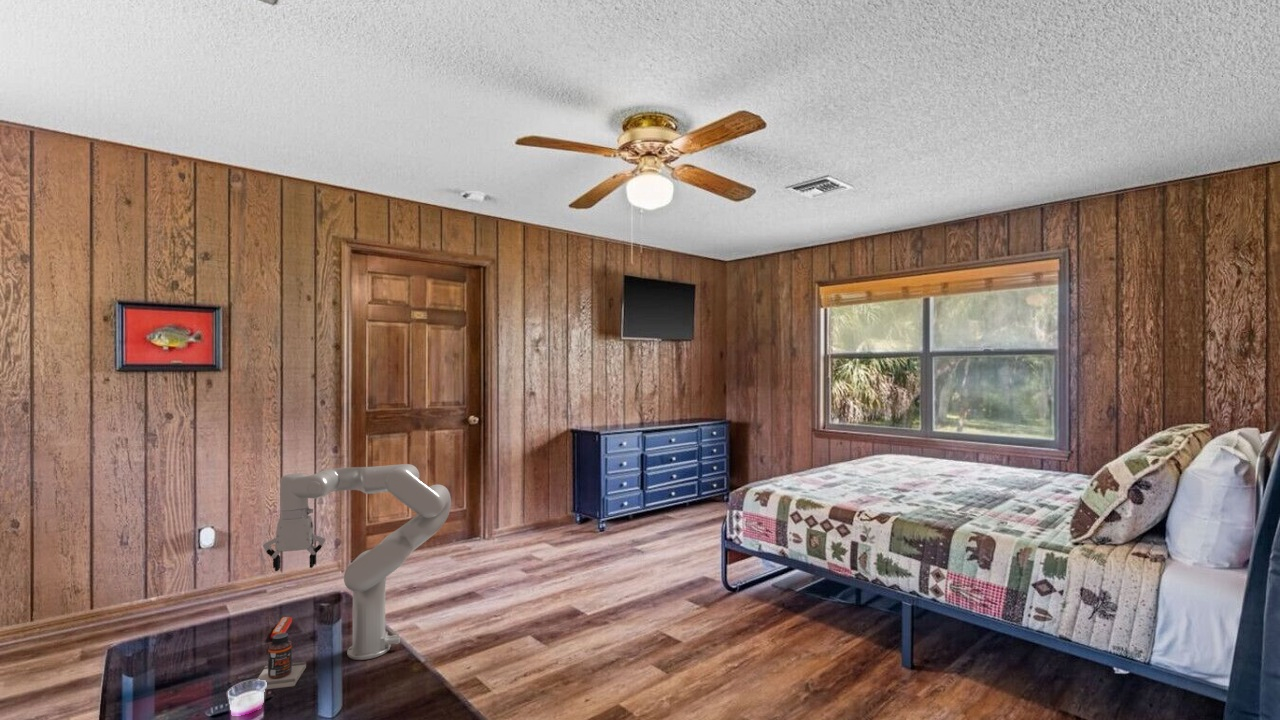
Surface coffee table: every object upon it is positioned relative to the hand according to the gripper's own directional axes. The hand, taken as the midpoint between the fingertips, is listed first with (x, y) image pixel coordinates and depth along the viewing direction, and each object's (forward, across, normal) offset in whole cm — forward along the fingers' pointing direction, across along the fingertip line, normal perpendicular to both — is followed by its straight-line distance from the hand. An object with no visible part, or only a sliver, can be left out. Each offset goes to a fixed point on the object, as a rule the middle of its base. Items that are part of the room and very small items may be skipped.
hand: (294, 568), depth 190 cm
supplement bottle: (+27, +1, +14) cm, 30 cm away
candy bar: (+28, +9, -22) cm, 37 cm away
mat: (+28, +1, +14) cm, 31 cm away
